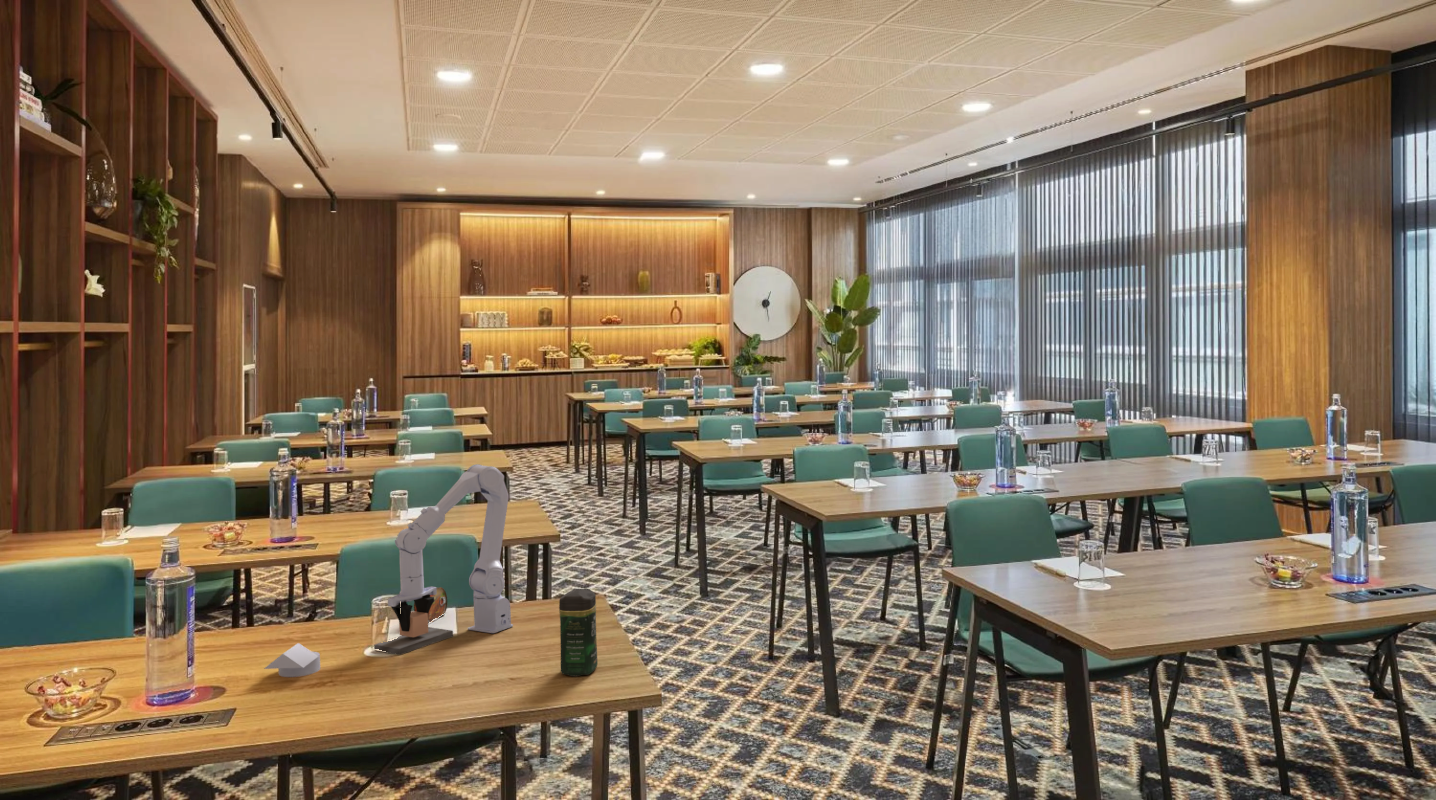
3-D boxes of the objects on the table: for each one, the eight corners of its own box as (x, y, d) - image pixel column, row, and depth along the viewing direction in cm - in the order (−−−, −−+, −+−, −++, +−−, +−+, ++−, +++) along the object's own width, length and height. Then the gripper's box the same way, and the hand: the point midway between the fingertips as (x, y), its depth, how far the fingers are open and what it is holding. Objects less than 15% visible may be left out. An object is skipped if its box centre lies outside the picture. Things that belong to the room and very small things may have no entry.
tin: (422, 627, 265) (421, 596, 265) (412, 626, 266) (411, 596, 266) (449, 613, 280) (447, 584, 280) (438, 613, 281) (437, 584, 280)
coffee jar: (591, 677, 218) (589, 595, 217) (557, 677, 218) (554, 595, 218) (601, 664, 227) (599, 585, 227) (568, 664, 228) (566, 585, 227)
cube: (428, 632, 250) (427, 613, 250) (413, 637, 246) (412, 617, 246) (414, 630, 253) (413, 611, 253) (399, 634, 249) (398, 615, 248)
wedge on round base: (304, 682, 220) (326, 664, 233) (302, 652, 220) (325, 636, 233) (264, 683, 220) (288, 665, 233) (262, 654, 220) (287, 638, 233)
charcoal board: (453, 636, 255) (452, 630, 255) (399, 654, 240) (399, 648, 239) (428, 632, 260) (428, 626, 260) (374, 650, 244) (374, 644, 244)
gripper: (422, 568, 257) (424, 619, 258) (378, 580, 245) (380, 633, 245) (441, 571, 254) (443, 622, 254) (398, 582, 241) (400, 636, 242)
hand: (414, 628), depth 249 cm, fingers closed on cube, 5 cm apart
